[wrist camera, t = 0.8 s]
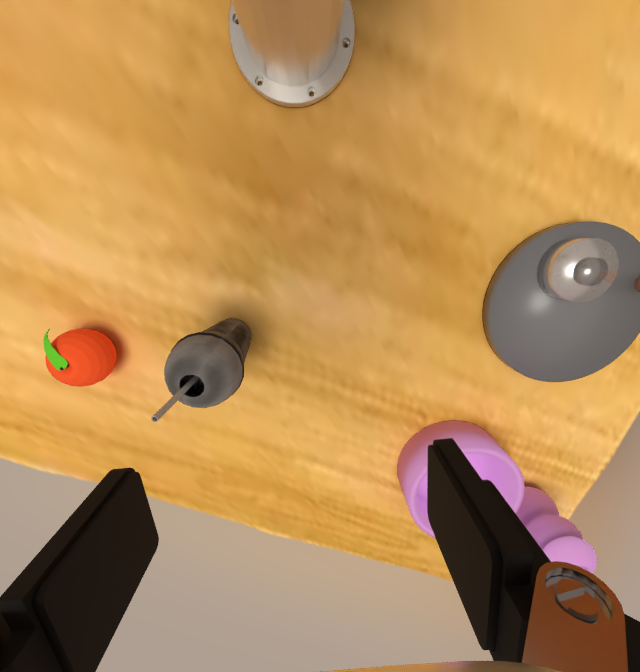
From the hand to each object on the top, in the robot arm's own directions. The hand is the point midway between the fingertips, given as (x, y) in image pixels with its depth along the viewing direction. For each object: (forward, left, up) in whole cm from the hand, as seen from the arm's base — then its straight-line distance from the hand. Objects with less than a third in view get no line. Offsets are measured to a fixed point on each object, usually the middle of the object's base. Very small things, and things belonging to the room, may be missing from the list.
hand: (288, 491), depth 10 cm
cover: (+7, +31, -30) cm, 44 cm away
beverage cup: (+1, -10, -33) cm, 34 cm away
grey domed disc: (+12, +31, -32) cm, 46 cm away
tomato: (-4, -27, -33) cm, 43 cm away
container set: (+34, +14, -33) cm, 49 cm away
